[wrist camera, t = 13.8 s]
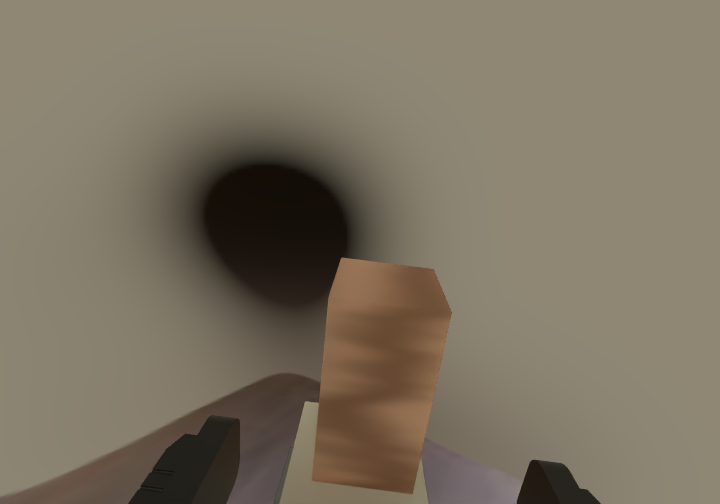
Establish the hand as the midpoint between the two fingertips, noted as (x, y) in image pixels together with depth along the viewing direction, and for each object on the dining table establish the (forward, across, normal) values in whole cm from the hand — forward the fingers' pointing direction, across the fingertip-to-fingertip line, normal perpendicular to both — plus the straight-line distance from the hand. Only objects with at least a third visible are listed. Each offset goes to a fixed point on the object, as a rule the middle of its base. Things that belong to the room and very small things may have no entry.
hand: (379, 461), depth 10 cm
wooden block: (+8, 0, +8) cm, 11 cm away
